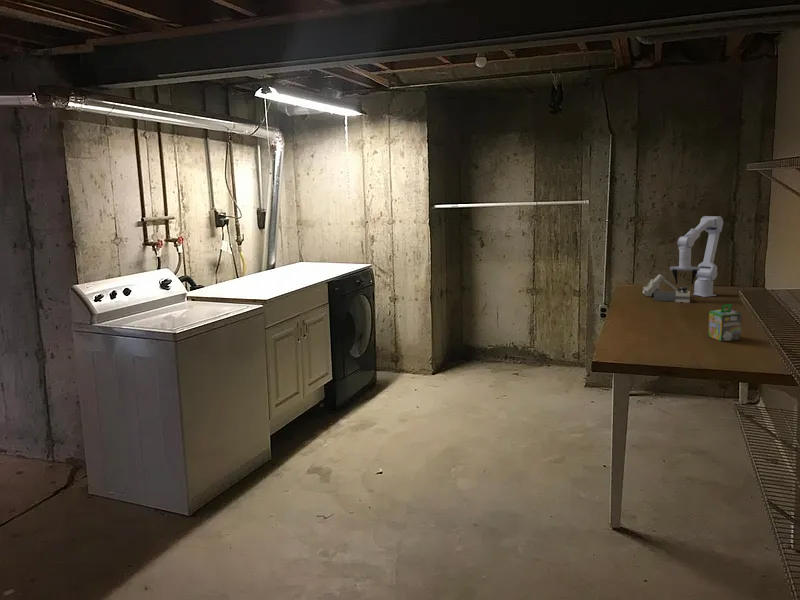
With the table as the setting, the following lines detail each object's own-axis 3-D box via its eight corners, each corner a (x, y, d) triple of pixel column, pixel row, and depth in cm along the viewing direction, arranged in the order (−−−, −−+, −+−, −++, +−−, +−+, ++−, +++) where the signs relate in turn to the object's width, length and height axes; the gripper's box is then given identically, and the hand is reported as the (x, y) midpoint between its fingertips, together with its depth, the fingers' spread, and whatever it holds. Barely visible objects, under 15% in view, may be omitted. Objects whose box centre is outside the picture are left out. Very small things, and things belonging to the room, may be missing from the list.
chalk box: (726, 335, 273) (728, 301, 271) (741, 340, 264) (743, 305, 262) (707, 336, 272) (708, 302, 269) (721, 342, 263) (722, 306, 260)
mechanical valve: (640, 289, 371) (659, 270, 365) (664, 308, 370) (684, 289, 364) (641, 293, 361) (661, 274, 355) (667, 313, 360) (686, 294, 355)
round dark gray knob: (678, 301, 346) (678, 287, 345) (683, 300, 347) (684, 286, 346) (682, 302, 343) (683, 288, 341) (688, 301, 344) (689, 287, 342)
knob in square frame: (654, 295, 364) (655, 286, 363) (689, 296, 357) (689, 287, 356) (653, 301, 348) (653, 292, 347) (689, 302, 341) (690, 293, 340)
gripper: (670, 259, 342) (669, 284, 345) (700, 259, 336) (699, 285, 339) (670, 258, 348) (669, 282, 351) (699, 258, 342) (699, 283, 345)
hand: (684, 283), depth 345 cm, fingers open, 7 cm apart
